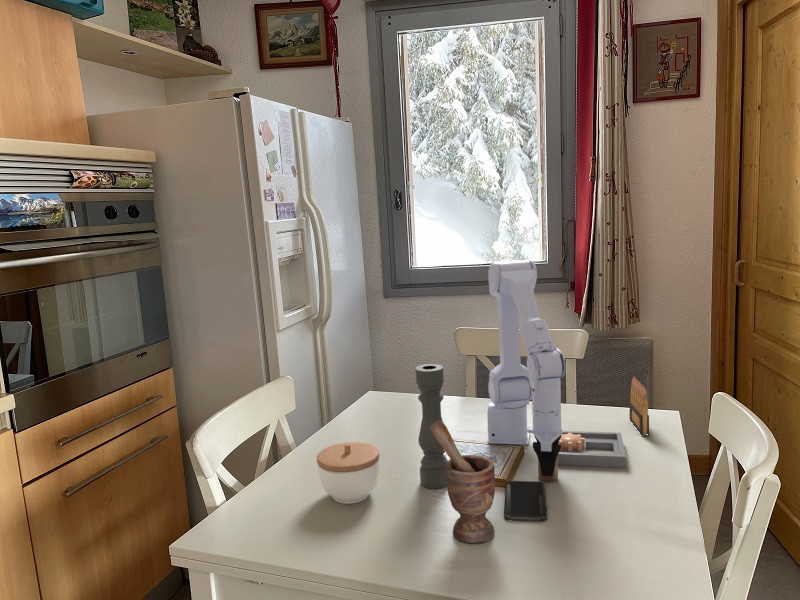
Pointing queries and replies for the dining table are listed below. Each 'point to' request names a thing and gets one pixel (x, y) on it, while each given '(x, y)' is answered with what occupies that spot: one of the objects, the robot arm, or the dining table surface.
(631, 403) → the ammunition clip
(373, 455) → the lidded bowl
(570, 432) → the housing
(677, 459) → the dining table surface
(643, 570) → the dining table surface
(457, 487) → the mortar and pestle
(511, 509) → the phone
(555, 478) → the brown rounded cylinder
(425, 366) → the candle holder
